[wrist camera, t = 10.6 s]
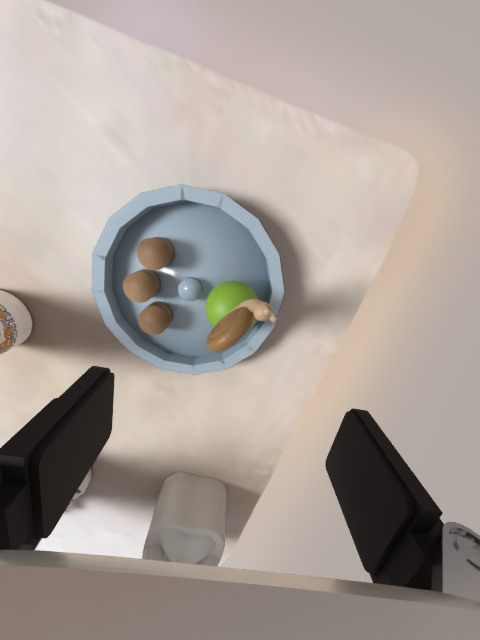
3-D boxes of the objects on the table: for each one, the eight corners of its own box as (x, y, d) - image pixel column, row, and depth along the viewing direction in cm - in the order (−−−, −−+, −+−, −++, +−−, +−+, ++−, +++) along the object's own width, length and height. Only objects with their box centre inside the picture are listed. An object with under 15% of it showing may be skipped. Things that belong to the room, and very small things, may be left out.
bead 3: (171, 328, 29) (165, 337, 27) (145, 323, 29) (137, 332, 26) (174, 303, 28) (168, 310, 26) (147, 298, 28) (139, 305, 25)
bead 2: (159, 298, 28) (152, 305, 25) (131, 293, 28) (122, 299, 25) (162, 272, 27) (155, 276, 24) (133, 266, 27) (123, 269, 24)
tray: (257, 373, 32) (258, 385, 30) (103, 346, 31) (91, 357, 28) (298, 214, 26) (305, 212, 23) (108, 170, 24) (92, 163, 22)
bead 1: (173, 269, 27) (167, 273, 24) (144, 263, 27) (135, 267, 24) (176, 240, 26) (170, 241, 23) (146, 234, 26) (137, 234, 23)
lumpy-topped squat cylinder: (232, 482, 39) (231, 549, 31) (211, 535, 43) (205, 606, 35) (166, 468, 38) (146, 534, 30) (151, 524, 42) (130, 595, 34)
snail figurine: (274, 296, 28) (300, 342, 17) (231, 332, 29) (229, 397, 18) (241, 259, 26) (246, 281, 15) (198, 299, 28) (172, 346, 17)
